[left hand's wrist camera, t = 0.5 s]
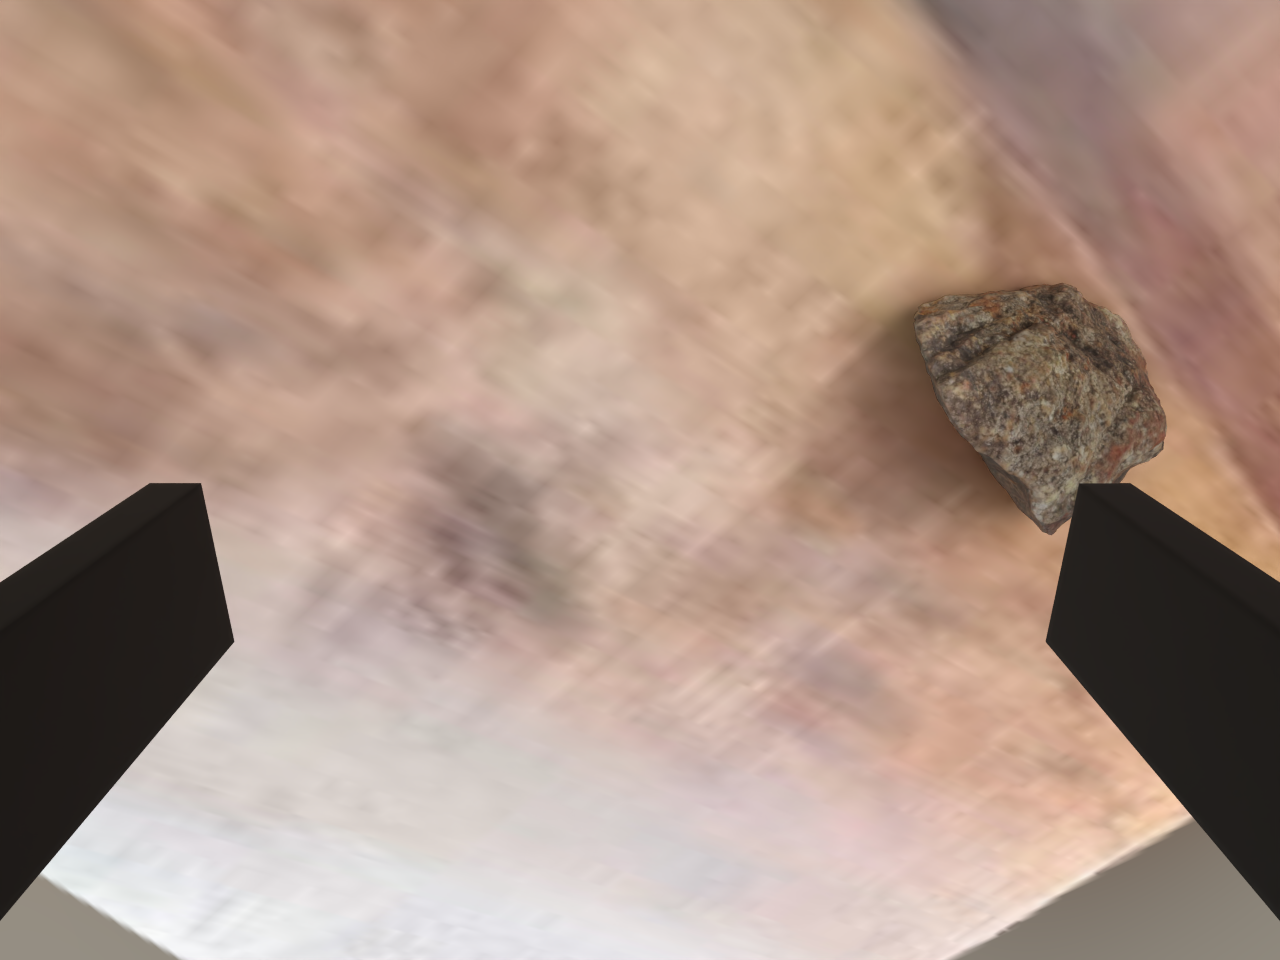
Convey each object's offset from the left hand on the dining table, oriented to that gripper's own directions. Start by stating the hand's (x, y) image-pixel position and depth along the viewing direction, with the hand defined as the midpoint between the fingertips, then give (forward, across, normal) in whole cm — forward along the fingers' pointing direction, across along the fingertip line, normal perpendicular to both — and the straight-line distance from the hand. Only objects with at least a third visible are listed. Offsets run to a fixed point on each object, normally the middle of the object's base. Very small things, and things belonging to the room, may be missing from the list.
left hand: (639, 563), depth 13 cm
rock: (+28, +19, -5) cm, 34 cm away
